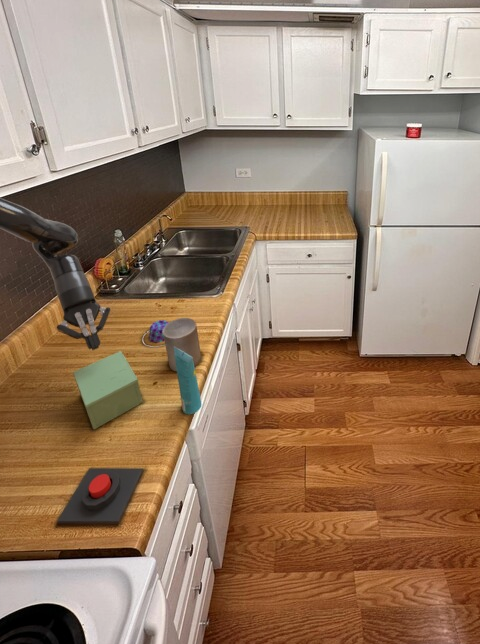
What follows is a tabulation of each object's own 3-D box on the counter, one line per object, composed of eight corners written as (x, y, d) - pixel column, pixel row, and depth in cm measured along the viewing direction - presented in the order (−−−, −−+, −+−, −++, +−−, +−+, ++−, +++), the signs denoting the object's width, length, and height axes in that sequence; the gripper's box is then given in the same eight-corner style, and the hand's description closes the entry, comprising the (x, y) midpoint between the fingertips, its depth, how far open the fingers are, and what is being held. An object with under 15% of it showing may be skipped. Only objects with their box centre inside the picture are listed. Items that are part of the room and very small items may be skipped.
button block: (58, 526, 65) (53, 515, 64) (91, 473, 74) (87, 462, 73) (119, 526, 65) (116, 515, 64) (144, 473, 74) (141, 462, 73)
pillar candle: (198, 348, 112) (193, 310, 106) (204, 367, 104) (198, 328, 98) (167, 357, 108) (160, 319, 102) (170, 378, 100) (162, 338, 94)
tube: (208, 406, 91) (200, 351, 84) (195, 421, 87) (185, 363, 80) (189, 396, 94) (179, 341, 87) (175, 409, 90) (164, 353, 83)
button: (86, 498, 67) (84, 492, 66) (97, 479, 70) (95, 474, 70) (104, 498, 67) (102, 492, 66) (114, 479, 70) (112, 474, 70)
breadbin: (143, 404, 91) (137, 379, 88) (94, 431, 84) (85, 406, 80) (127, 376, 100) (121, 352, 97) (82, 398, 93) (73, 374, 90)
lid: (138, 381, 87) (137, 379, 87) (86, 408, 80) (85, 405, 80) (121, 352, 97) (121, 350, 97) (73, 374, 90) (72, 371, 89)
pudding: (183, 339, 116) (181, 327, 114) (146, 353, 109) (143, 340, 107) (175, 322, 125) (173, 310, 123) (140, 333, 119) (137, 321, 117)
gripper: (43, 295, 85) (64, 358, 81) (101, 278, 94) (123, 334, 90) (46, 304, 90) (66, 363, 87) (101, 287, 99) (122, 340, 95)
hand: (95, 348), depth 88 cm, fingers closed
